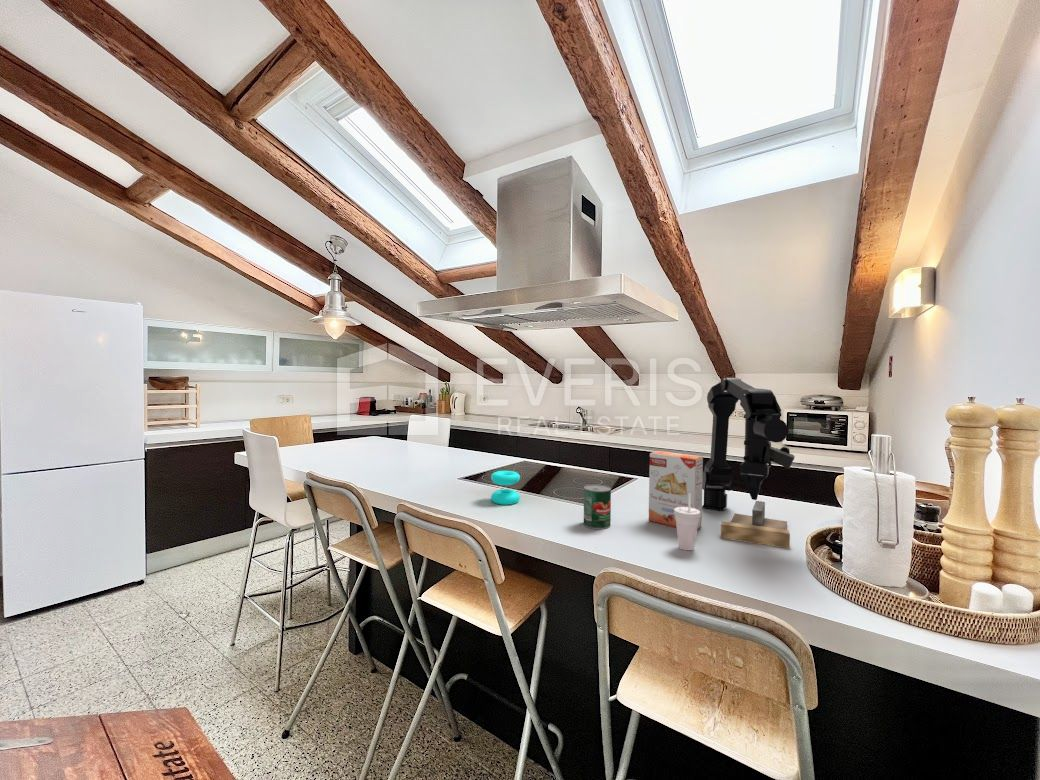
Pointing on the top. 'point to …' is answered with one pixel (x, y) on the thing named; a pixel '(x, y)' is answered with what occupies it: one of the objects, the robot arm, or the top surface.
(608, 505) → the canned tomato
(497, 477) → the donuts
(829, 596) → the top surface
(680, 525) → the smoothie
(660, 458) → the cracker box
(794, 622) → the top surface
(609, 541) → the top surface
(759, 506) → the stand
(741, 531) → the oak bar
